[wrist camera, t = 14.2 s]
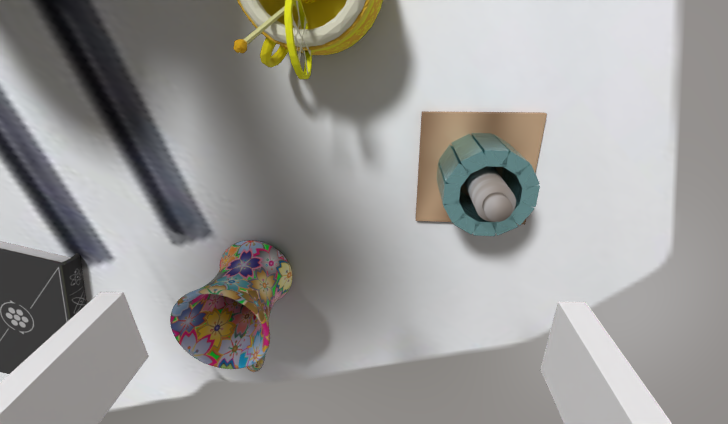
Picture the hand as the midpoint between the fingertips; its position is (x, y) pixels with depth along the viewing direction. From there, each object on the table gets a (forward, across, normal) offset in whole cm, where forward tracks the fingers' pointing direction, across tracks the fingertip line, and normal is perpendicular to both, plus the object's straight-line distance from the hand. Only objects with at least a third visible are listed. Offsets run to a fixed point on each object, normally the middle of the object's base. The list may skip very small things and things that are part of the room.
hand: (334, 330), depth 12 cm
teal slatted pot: (+26, +10, -4) cm, 28 cm away
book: (+28, -46, -24) cm, 59 cm away
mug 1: (+27, -13, -18) cm, 35 cm away
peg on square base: (+26, +10, -4) cm, 29 cm away
